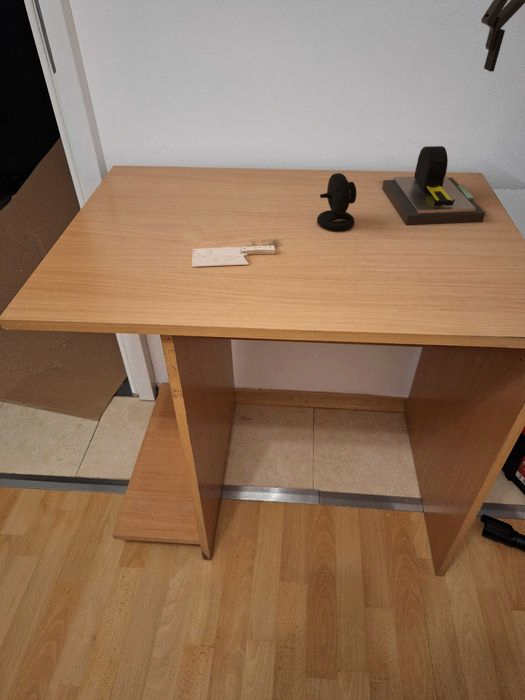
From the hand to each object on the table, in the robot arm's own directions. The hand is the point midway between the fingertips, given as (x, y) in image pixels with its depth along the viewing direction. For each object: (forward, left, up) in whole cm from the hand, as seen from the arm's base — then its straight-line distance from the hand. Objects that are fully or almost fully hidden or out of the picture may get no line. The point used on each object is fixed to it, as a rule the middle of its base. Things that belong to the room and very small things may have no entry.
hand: (523, 69), depth 92 cm
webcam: (+36, +11, -25) cm, 45 cm away
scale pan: (+14, +4, -23) cm, 27 cm away
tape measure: (+14, +4, -22) cm, 26 cm away
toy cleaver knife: (+57, +23, -25) cm, 66 cm away
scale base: (+14, +4, -25) cm, 29 cm away
